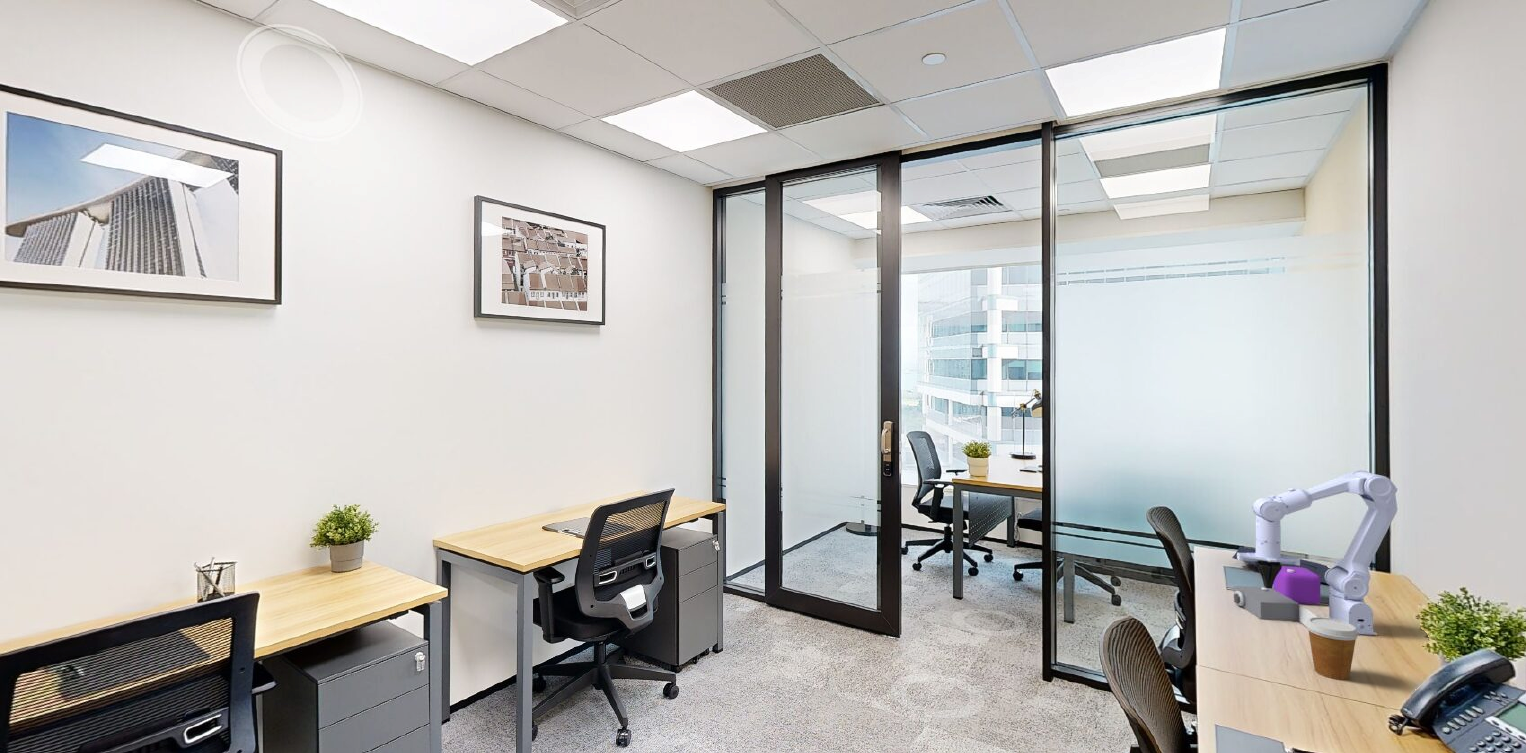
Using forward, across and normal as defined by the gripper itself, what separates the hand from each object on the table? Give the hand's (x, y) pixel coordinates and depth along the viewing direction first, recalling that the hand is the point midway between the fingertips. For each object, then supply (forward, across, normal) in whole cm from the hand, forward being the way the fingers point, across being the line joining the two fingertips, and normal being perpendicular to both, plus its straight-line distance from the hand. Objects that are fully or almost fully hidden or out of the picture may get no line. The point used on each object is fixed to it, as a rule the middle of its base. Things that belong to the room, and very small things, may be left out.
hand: (1267, 587), depth 187 cm
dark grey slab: (+10, +23, +56) cm, 61 cm away
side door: (+9, +8, -6) cm, 14 cm away
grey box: (+10, +2, +8) cm, 12 cm away
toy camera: (+10, +14, +23) cm, 29 cm away
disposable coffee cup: (+10, +2, -34) cm, 36 cm away
